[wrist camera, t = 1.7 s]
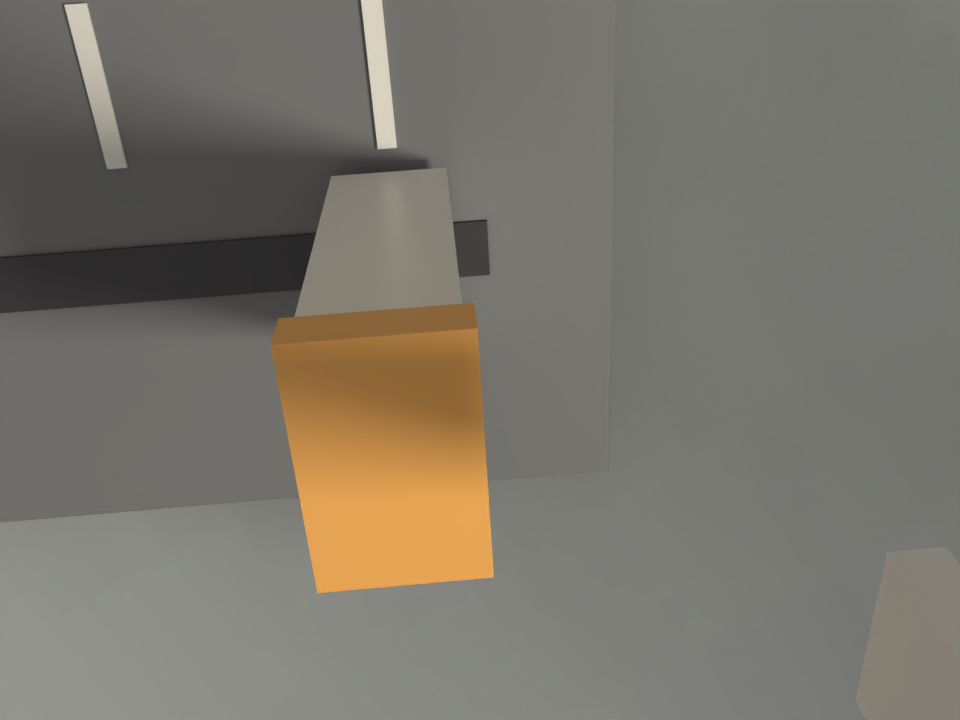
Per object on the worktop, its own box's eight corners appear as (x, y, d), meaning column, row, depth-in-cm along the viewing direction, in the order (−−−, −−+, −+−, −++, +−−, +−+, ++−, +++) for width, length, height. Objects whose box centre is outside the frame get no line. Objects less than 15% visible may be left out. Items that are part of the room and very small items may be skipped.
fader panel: (600, 444, 30) (609, 472, 29) (-185, 510, 30) (-214, 542, 28) (605, -83, 23) (618, -80, 21) (-456, -12, 22) (-514, -4, 21)
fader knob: (466, 343, 26) (493, 577, 17) (348, 352, 26) (317, 593, 17) (453, 159, 23) (477, 328, 15) (322, 169, 23) (270, 345, 15)
